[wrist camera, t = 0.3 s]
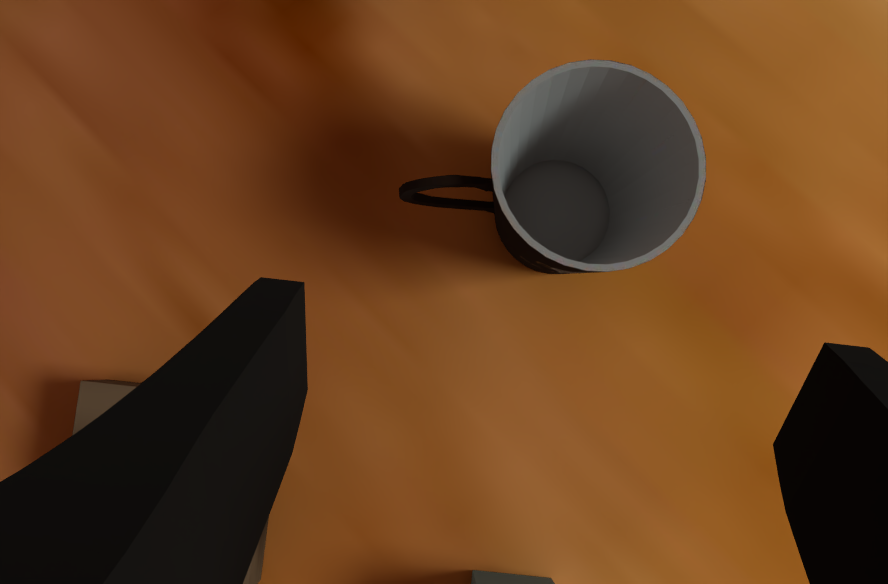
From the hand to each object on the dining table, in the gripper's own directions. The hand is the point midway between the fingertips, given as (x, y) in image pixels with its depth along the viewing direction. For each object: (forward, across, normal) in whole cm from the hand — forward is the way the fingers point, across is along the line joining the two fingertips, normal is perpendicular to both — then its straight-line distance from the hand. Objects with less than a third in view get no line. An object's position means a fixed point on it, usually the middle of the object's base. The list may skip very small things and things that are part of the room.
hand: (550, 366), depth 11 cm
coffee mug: (+27, -2, +13) cm, 30 cm away
